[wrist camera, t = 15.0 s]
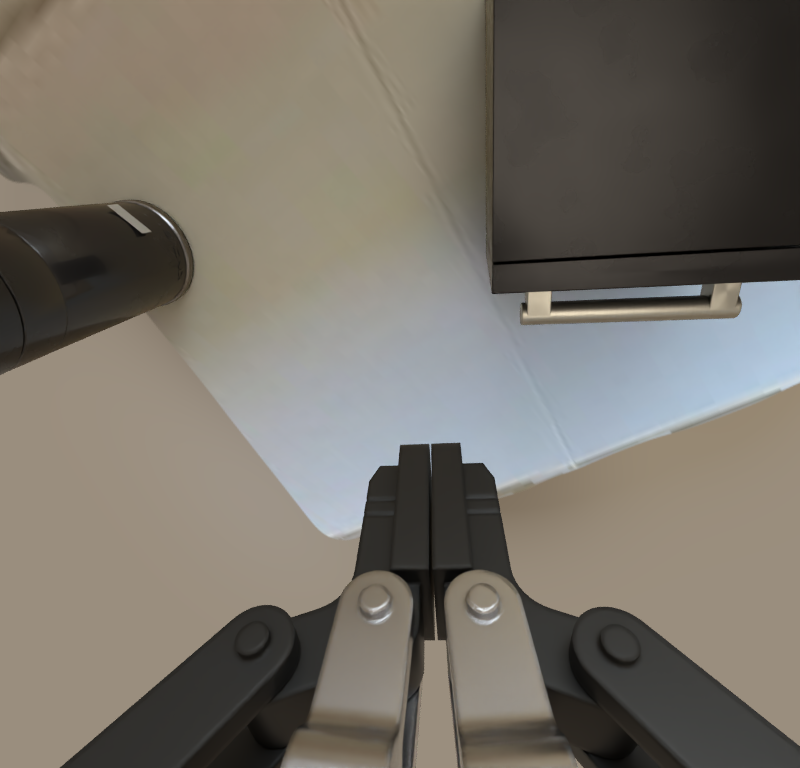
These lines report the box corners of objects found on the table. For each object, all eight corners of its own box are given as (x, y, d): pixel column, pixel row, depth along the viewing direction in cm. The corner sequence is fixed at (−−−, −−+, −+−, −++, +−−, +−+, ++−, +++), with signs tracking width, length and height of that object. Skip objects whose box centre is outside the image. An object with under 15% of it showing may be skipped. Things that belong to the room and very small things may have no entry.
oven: (703, 215, 33) (842, 242, 21) (485, 230, 36) (492, 262, 23) (754, -49, 27) (1000, -241, 14) (485, -6, 29) (494, -135, 17)
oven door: (691, 279, 35) (809, 335, 23) (485, 289, 38) (491, 344, 25) (703, 219, 33) (839, 245, 21) (485, 234, 36) (491, 264, 23)
